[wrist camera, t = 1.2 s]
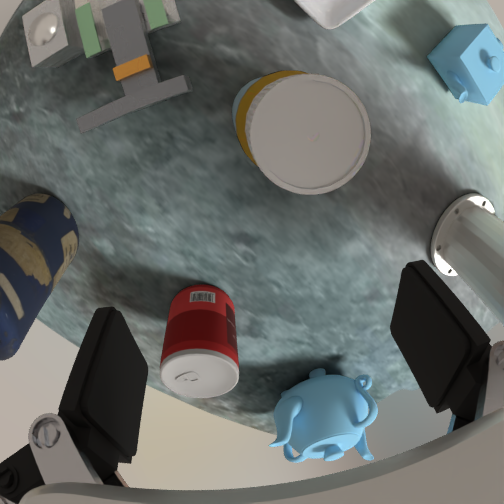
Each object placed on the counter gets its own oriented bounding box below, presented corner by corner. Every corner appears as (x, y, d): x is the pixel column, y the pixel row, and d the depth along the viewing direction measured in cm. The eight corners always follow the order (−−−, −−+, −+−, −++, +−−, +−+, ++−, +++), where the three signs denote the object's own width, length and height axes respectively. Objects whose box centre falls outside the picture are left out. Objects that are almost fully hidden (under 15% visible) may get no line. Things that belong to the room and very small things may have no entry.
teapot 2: (435, 115, 27) (479, 128, 21) (405, 74, 25) (449, 77, 18) (481, 59, 23) (524, 64, 17) (456, 20, 21) (499, 17, 14)
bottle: (248, 158, 29) (271, 223, 16) (220, 92, 25) (216, 94, 12) (315, 133, 28) (390, 177, 15) (290, 67, 24) (355, 50, 11)
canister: (8, 205, 28) (-85, 293, 12) (62, 176, 27) (-47, 267, 12) (42, 269, 33) (-25, 375, 17) (96, 250, 32) (30, 373, 17)
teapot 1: (353, 403, 54) (373, 461, 42) (257, 417, 52) (265, 482, 40) (375, 352, 46) (407, 420, 34) (258, 367, 44) (269, 449, 32)
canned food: (158, 303, 36) (143, 373, 27) (207, 270, 35) (204, 341, 25) (198, 337, 40) (195, 406, 30) (246, 310, 38) (254, 381, 29)
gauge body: (159, -54, 16) (148, -76, 12) (183, 28, 22) (174, 16, 17) (44, 1, 17) (17, -7, 12) (62, 81, 22) (34, 83, 18)
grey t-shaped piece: (167, -10, 18) (152, -35, 13) (196, 90, 24) (188, 90, 18) (82, 26, 19) (48, 15, 13) (110, 122, 24) (81, 133, 18)
